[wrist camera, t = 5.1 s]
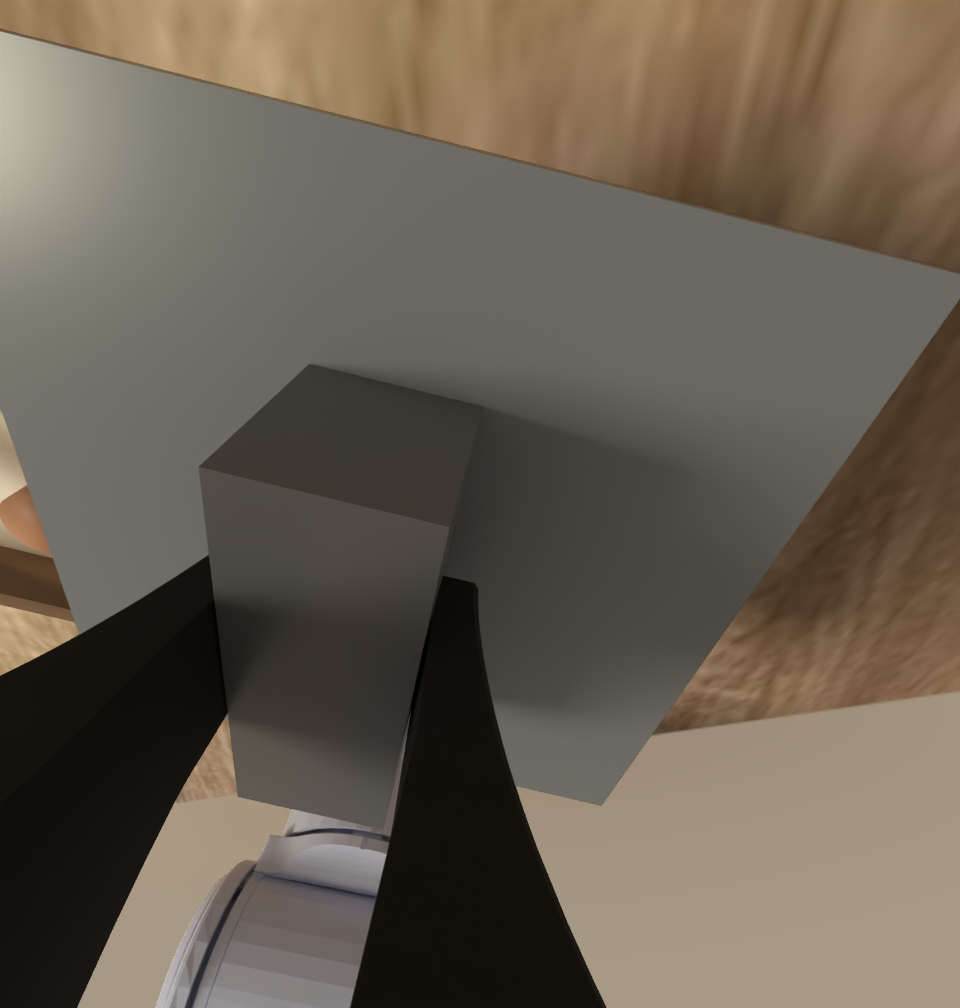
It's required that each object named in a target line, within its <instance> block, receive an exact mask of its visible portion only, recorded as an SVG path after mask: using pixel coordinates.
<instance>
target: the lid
mask: <svg viewBox="0 0 960 1008" xmlns="http://www.w3.org/2000/svg"><path fill="white" fill-rule="evenodd" d="M959 299H960V273H959V272H957V271H954V270H951V269H948V268H944V267H940V266H936V265H932V264H928V263H924V262H920V261H916V260H912V259H909V258H905V257H901V256H897V255H893V254H889V253H885V252H881V251H877V250H873V249H869V248H865V247H861V246H857V245H853V244H849V243H845V242H841V241H837V240H833V239H830V238H826V237H822V236H818V235H814V234H810V233H806V232H802V231H798V230H794V229H790V228H786V227H782V226H778V225H774V224H770V223H766V222H762V221H758V220H754V219H751V218H747V217H743V216H739V215H735V214H731V213H727V212H723V211H719V210H715V209H711V208H707V207H703V206H699V205H695V204H691V203H687V202H683V201H679V200H675V199H672V198H668V197H664V196H660V195H656V194H652V193H648V192H644V191H640V190H636V189H632V188H628V187H624V186H620V185H616V184H612V183H608V182H604V181H600V180H596V179H593V178H589V177H585V176H581V175H577V174H573V173H569V172H565V171H561V170H557V169H553V168H549V167H545V166H541V165H537V164H533V163H529V162H525V161H521V160H517V159H514V158H510V157H506V156H502V155H498V154H494V153H490V152H486V151H482V150H478V149H474V148H470V147H466V146H462V145H458V144H454V143H450V142H446V141H442V140H438V139H435V138H431V137H427V136H423V135H419V134H415V133H411V132H407V131H403V130H399V129H395V128H391V127H387V126H383V125H379V124H375V123H371V122H367V121H363V120H359V119H356V118H352V117H348V116H344V115H340V114H336V113H332V112H328V111H324V110H320V109H316V108H312V107H308V106H304V105H300V104H296V103H292V102H288V101H284V100H280V99H277V98H273V97H269V96H265V95H261V94H257V93H253V92H249V91H245V90H241V89H237V88H233V87H229V86H225V85H221V84H217V83H213V82H209V81H205V80H201V79H198V78H194V77H190V76H186V75H182V74H178V73H174V72H170V71H166V70H162V69H158V68H154V67H150V66H146V65H142V64H138V63H134V62H130V61H126V60H122V59H119V58H115V57H111V56H107V55H103V54H99V53H95V52H91V51H87V50H83V49H79V48H75V47H71V46H67V45H63V44H59V43H55V42H51V41H47V40H43V39H40V38H36V37H32V36H28V35H24V34H20V33H16V32H12V31H8V30H4V29H0V408H1V411H2V414H3V417H4V420H5V422H6V425H7V428H8V431H9V434H10V437H11V440H12V443H13V445H14V448H15V451H16V454H17V457H18V460H19V463H20V466H21V468H22V471H23V474H24V477H25V480H26V483H27V486H28V489H29V491H30V494H31V497H32V500H33V503H34V506H35V509H36V512H37V514H38V517H39V520H40V523H41V526H42V529H43V532H44V535H45V537H46V540H47V543H48V546H49V549H50V552H51V555H52V558H53V560H54V563H55V566H56V569H57V572H58V575H59V578H60V581H61V583H62V586H63V589H64V592H65V595H66V598H67V601H68V604H69V606H70V609H71V612H72V615H73V618H74V621H75V624H76V627H77V629H78V632H79V634H81V633H83V632H85V631H86V630H88V629H90V628H92V627H93V626H95V625H97V624H98V623H100V622H102V621H104V620H105V619H107V618H109V617H111V616H112V615H114V614H116V613H117V612H119V611H121V610H123V609H124V608H126V607H128V606H129V605H131V604H133V603H134V602H136V601H138V600H139V599H141V598H142V597H144V596H145V595H147V594H149V593H150V592H152V591H153V590H155V589H156V588H158V587H160V586H161V585H163V584H164V583H166V582H168V581H169V580H171V579H172V578H174V577H175V576H177V575H179V574H180V573H182V572H183V571H185V570H186V569H188V568H189V567H191V566H192V565H194V564H195V563H197V562H198V561H200V560H201V559H203V558H204V557H206V556H207V555H209V560H210V568H211V576H212V585H213V593H214V602H215V610H216V618H217V627H218V635H219V643H220V652H221V660H222V668H223V677H224V685H225V693H226V702H227V710H228V714H227V715H226V717H225V719H228V720H229V727H230V735H231V743H232V752H233V760H234V769H235V777H236V785H237V794H238V797H242V798H246V799H250V800H255V801H259V802H263V803H268V804H272V805H277V806H281V807H285V808H290V809H294V810H298V811H303V812H307V813H312V814H316V815H320V816H325V817H329V818H333V819H338V820H342V821H347V822H351V823H355V824H360V825H364V826H368V827H373V828H377V829H382V830H383V828H384V824H385V820H386V816H387V812H388V808H389V804H390V800H391V796H392V792H393V788H394V784H395V780H396V776H397V772H398V768H399V764H400V760H403V757H404V751H405V745H406V738H407V732H408V726H409V720H410V713H411V708H412V703H413V699H414V694H415V690H416V685H417V681H418V676H419V672H420V668H421V663H422V659H423V654H424V650H425V645H426V641H427V636H428V632H429V627H430V623H431V618H432V614H433V610H434V606H435V603H436V599H437V595H438V592H439V588H440V585H441V581H442V577H443V576H448V577H452V578H456V579H460V580H464V581H469V582H473V583H475V584H476V586H477V587H478V589H479V593H478V610H479V624H480V633H481V642H482V649H483V655H484V662H485V667H486V672H487V677H488V682H489V688H490V693H491V697H492V702H493V706H494V711H495V715H496V719H497V723H498V727H499V731H500V734H501V738H502V742H503V746H504V749H505V753H506V756H507V760H508V763H509V767H510V770H511V773H512V776H513V780H514V783H515V786H518V787H523V788H527V789H531V790H535V791H540V792H544V793H549V794H553V795H557V796H562V797H566V798H570V799H575V800H579V801H583V802H588V803H592V804H596V805H602V804H603V803H604V802H605V800H606V799H607V797H608V796H609V795H610V793H611V792H612V790H613V789H614V787H615V786H616V785H617V783H618V782H619V780H620V779H621V778H622V776H623V775H624V773H625V772H626V770H627V769H628V768H629V766H630V765H631V763H632V762H633V761H634V759H635V758H636V756H637V755H638V754H639V752H640V751H641V749H642V748H643V746H644V745H645V744H646V742H647V741H648V739H649V738H650V737H651V735H652V734H653V732H654V731H655V729H656V728H657V727H658V725H659V724H660V722H661V721H662V720H663V718H664V717H665V715H666V714H667V712H668V711H669V710H670V708H671V707H672V705H673V704H674V703H675V701H676V700H677V698H678V697H679V695H680V694H681V693H682V691H683V690H684V688H685V687H686V686H687V684H688V683H689V681H690V680H691V678H692V677H693V676H694V674H695V673H696V671H697V670H698V669H699V667H700V666H701V664H702V663H703V662H704V660H705V659H706V657H707V656H708V654H709V653H710V652H711V650H712V649H713V647H714V646H715V645H716V643H717V642H718V640H719V639H720V637H721V636H722V635H723V633H724V632H725V630H726V629H727V628H728V626H729V625H730V623H731V622H732V620H733V619H734V618H735V616H736V615H737V613H738V612H739V611H740V609H741V608H742V606H743V605H744V603H745V602H746V601H747V599H748V598H749V596H750V595H751V594H752V592H753V591H754V589H755V588H756V587H757V585H758V584H759V582H760V581H761V579H762V578H763V577H764V575H765V574H766V572H767V571H768V570H769V568H770V567H771V565H772V564H773V562H774V561H775V560H776V558H777V557H778V555H779V554H780V553H781V551H782V550H783V548H784V547H785V545H786V544H787V543H788V541H789V540H790V538H791V537H792V536H793V534H794V533H795V531H796V530H797V528H798V527H799V526H800V524H801V523H802V521H803V520H804V519H805V517H806V516H807V514H808V513H809V512H810V510H811V509H812V507H813V506H814V504H815V503H816V502H817V500H818V499H819V497H820V496H821V495H822V493H823V492H824V490H825V489H826V487H827V486H828V485H829V483H830V482H831V480H832V479H833V478H834V476H835V475H836V473H837V472H838V470H839V469H840V468H841V466H842V465H843V463H844V462H845V461H846V459H847V458H848V456H849V455H850V453H851V452H852V451H853V449H854V448H855V446H856V445H857V444H858V442H859V441H860V439H861V438H862V436H863V435H864V434H865V432H866V431H867V429H868V428H869V427H870V425H871V424H872V422H873V421H874V420H875V418H876V417H877V415H878V414H879V412H880V411H881V410H882V408H883V407H884V405H885V404H886V403H887V401H888V400H889V398H890V397H891V395H892V394H893V393H894V391H895V390H896V388H897V387H898V386H899V384H900V383H901V381H902V380H903V378H904V377H905V376H906V374H907V373H908V371H909V370H910V369H911V367H912V366H913V364H914V363H915V361H916V360H917V359H918V357H919V356H920V354H921V353H922V352H923V350H924V349H925V347H926V346H927V345H928V343H929V342H930V340H931V339H932V337H933V336H934V335H935V333H936V332H937V330H938V329H939V328H940V326H941V325H942V323H943V322H944V320H945V319H946V318H947V316H948V315H949V313H950V312H951V311H952V309H953V308H954V306H955V305H956V303H957V302H958V301H959Z"/></svg>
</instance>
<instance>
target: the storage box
mask: <svg viewBox="0 0 960 1008" xmlns="http://www.w3.org/2000/svg"><path fill="white" fill-rule="evenodd" d="M0 605H4V606H8V607H12V608H17V609H21V610H25V611H29V612H34V613H38V614H42V615H46V616H51V617H55V618H59V619H63V620H68V621H72V622H75V621H74V618H73V615H72V612H71V609H70V606H69V604H68V601H67V598H66V595H65V592H64V589H63V586H62V583H61V581H60V578H59V575H58V572H57V569H56V566H55V563H54V560H53V558H52V555H51V552H50V549H49V546H48V543H47V540H46V537H45V535H44V532H43V529H42V526H41V523H40V520H39V517H38V514H37V512H36V509H35V506H34V503H33V500H32V497H31V494H30V491H29V489H28V486H27V483H26V480H25V477H24V474H23V471H22V468H21V466H20V463H19V460H18V457H17V454H16V451H15V448H14V445H13V443H12V440H11V437H10V434H9V431H8V428H7V425H6V422H5V420H4V417H3V414H2V411H1V408H0Z"/></svg>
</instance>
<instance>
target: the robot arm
mask: <svg viewBox="0 0 960 1008" xmlns="http://www.w3.org/2000/svg"><path fill="white" fill-rule="evenodd" d="M478 593H479V589H478V587H477V586H476V584H475V583H473V582H469V581H464V580H460V579H456V578H452V577H448V576H443V577H442V581H441V585H440V588H439V592H438V595H437V599H436V603H435V606H434V610H433V614H432V618H431V623H430V627H429V632H428V636H427V641H426V645H425V650H424V654H423V659H422V663H421V668H420V672H419V676H418V681H417V685H416V690H415V694H414V699H413V703H412V708H411V713H410V720H409V726H408V732H407V738H406V745H405V751H404V757H403V760H400V764H399V768H398V772H397V776H396V780H395V784H394V788H393V792H392V796H391V800H390V804H389V808H388V812H387V816H386V820H385V824H384V828H383V830H382V829H377V828H373V827H368V826H364V825H360V824H355V823H351V822H347V821H342V820H338V819H333V818H329V817H325V816H320V815H316V814H312V813H307V812H303V811H298V810H294V809H292V811H291V814H290V816H289V819H288V821H287V824H286V826H285V829H284V831H283V834H282V836H276V835H269V836H268V838H267V840H266V843H265V845H264V847H263V850H262V852H261V855H260V857H259V859H258V862H257V861H252V860H245V861H242V862H240V863H239V864H237V865H236V866H235V867H234V868H233V869H232V870H231V871H230V872H229V873H228V874H226V875H225V876H224V877H222V878H221V879H220V880H219V881H218V882H217V883H216V884H215V885H214V886H213V887H212V888H211V890H210V891H209V893H208V894H207V895H206V897H205V898H204V900H203V901H202V903H201V904H200V906H199V908H198V909H197V911H196V913H195V915H194V917H193V918H192V920H191V922H190V924H189V926H188V928H187V930H186V932H185V934H184V936H183V938H182V940H181V942H180V945H179V947H178V949H177V951H176V954H175V956H174V958H173V961H172V963H171V965H170V968H169V970H168V973H167V976H166V978H165V981H164V984H163V986H162V989H161V992H160V995H159V998H158V1001H157V1004H156V1007H155V1008H606V1006H605V1004H604V1001H603V999H602V997H601V995H600V993H599V991H598V989H597V987H596V985H595V983H594V980H593V978H592V976H591V974H590V972H589V970H588V968H587V965H586V963H585V961H584V958H583V956H582V954H581V952H580V949H579V947H578V945H577V943H576V941H575V938H574V936H573V934H572V932H571V929H570V927H569V925H568V923H567V920H566V918H565V916H564V913H563V910H562V908H561V906H560V903H559V901H558V898H557V896H556V893H555V891H554V888H553V886H552V883H551V881H550V878H549V876H548V873H547V871H546V869H545V866H544V864H543V861H542V859H541V856H540V854H539V851H538V849H537V846H536V843H535V841H534V838H533V835H532V832H531V830H530V827H529V824H528V821H527V818H526V815H525V813H524V810H523V807H522V804H521V801H520V799H519V795H518V792H517V789H516V786H515V783H514V780H513V776H512V773H511V770H510V767H509V763H508V760H507V756H506V753H505V749H504V746H503V742H502V738H501V734H500V731H499V727H498V723H497V719H496V715H495V711H494V706H493V702H492V697H491V693H490V688H489V682H488V677H487V672H486V667H485V662H484V655H483V649H482V642H481V633H480V624H479V610H478ZM227 714H228V710H227V702H226V693H225V685H224V677H223V668H222V660H221V652H220V643H219V635H218V627H217V618H216V610H215V602H214V593H213V585H212V576H211V568H210V560H209V555H207V556H206V557H204V558H203V559H201V560H200V561H198V562H197V563H195V564H194V565H192V566H191V567H189V568H188V569H186V570H185V571H183V572H182V573H180V574H179V575H177V576H175V577H174V578H172V579H171V580H169V581H168V582H166V583H164V584H163V585H161V586H160V587H158V588H156V589H155V590H153V591H152V592H150V593H149V594H147V595H145V596H144V597H142V598H141V599H139V600H138V601H136V602H134V603H133V604H131V605H129V606H128V607H126V608H124V609H123V610H121V611H119V612H117V613H116V614H114V615H112V616H111V617H109V618H107V619H105V620H104V621H102V622H100V623H98V624H97V625H95V626H93V627H92V628H90V629H88V630H86V631H85V632H83V633H81V634H79V635H78V636H76V637H74V638H72V639H71V640H69V641H67V642H65V643H63V644H61V645H60V646H58V647H56V648H54V649H52V650H50V651H48V652H46V653H45V654H43V655H41V656H39V657H37V658H35V659H33V660H31V661H29V662H27V663H25V664H23V665H21V666H19V667H17V668H15V669H13V670H11V671H9V672H7V673H5V674H3V675H1V676H0V1008H77V1007H78V1004H79V1002H80V1000H81V997H82V995H83V993H84V991H85V989H86V987H87V984H88V982H89V980H90V978H91V976H92V973H93V971H94V969H95V967H96V965H97V962H98V960H99V958H100V956H101V954H102V951H103V949H104V947H105V945H106V943H107V940H108V938H109V936H110V934H111V932H112V930H113V927H114V925H115V923H116V921H117V919H118V917H119V915H120V913H121V911H122V908H123V906H124V904H125V902H126V900H127V898H128V896H129V894H130V892H131V890H132V888H133V885H134V883H135V881H136V879H137V877H138V875H139V873H140V871H141V869H142V867H143V865H144V862H145V860H146V858H147V856H148V854H149V852H150V850H151V848H152V846H153V844H154V842H155V840H156V838H157V836H158V834H159V832H160V830H161V828H162V826H163V824H164V822H165V820H166V818H167V816H168V814H169V812H170V810H171V808H172V806H173V804H174V802H175V800H176V799H177V797H178V795H179V793H180V791H181V790H182V788H183V786H184V784H185V783H186V781H187V779H188V777H189V776H190V774H191V772H192V771H193V769H194V767H195V766H196V764H197V762H198V761H199V759H200V758H201V756H202V754H203V753H204V751H205V749H206V748H207V746H208V745H209V743H210V741H211V740H212V738H213V736H214V735H215V733H216V732H217V730H218V728H219V727H220V725H221V723H222V722H223V720H224V719H225V717H226V715H227Z"/></svg>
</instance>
